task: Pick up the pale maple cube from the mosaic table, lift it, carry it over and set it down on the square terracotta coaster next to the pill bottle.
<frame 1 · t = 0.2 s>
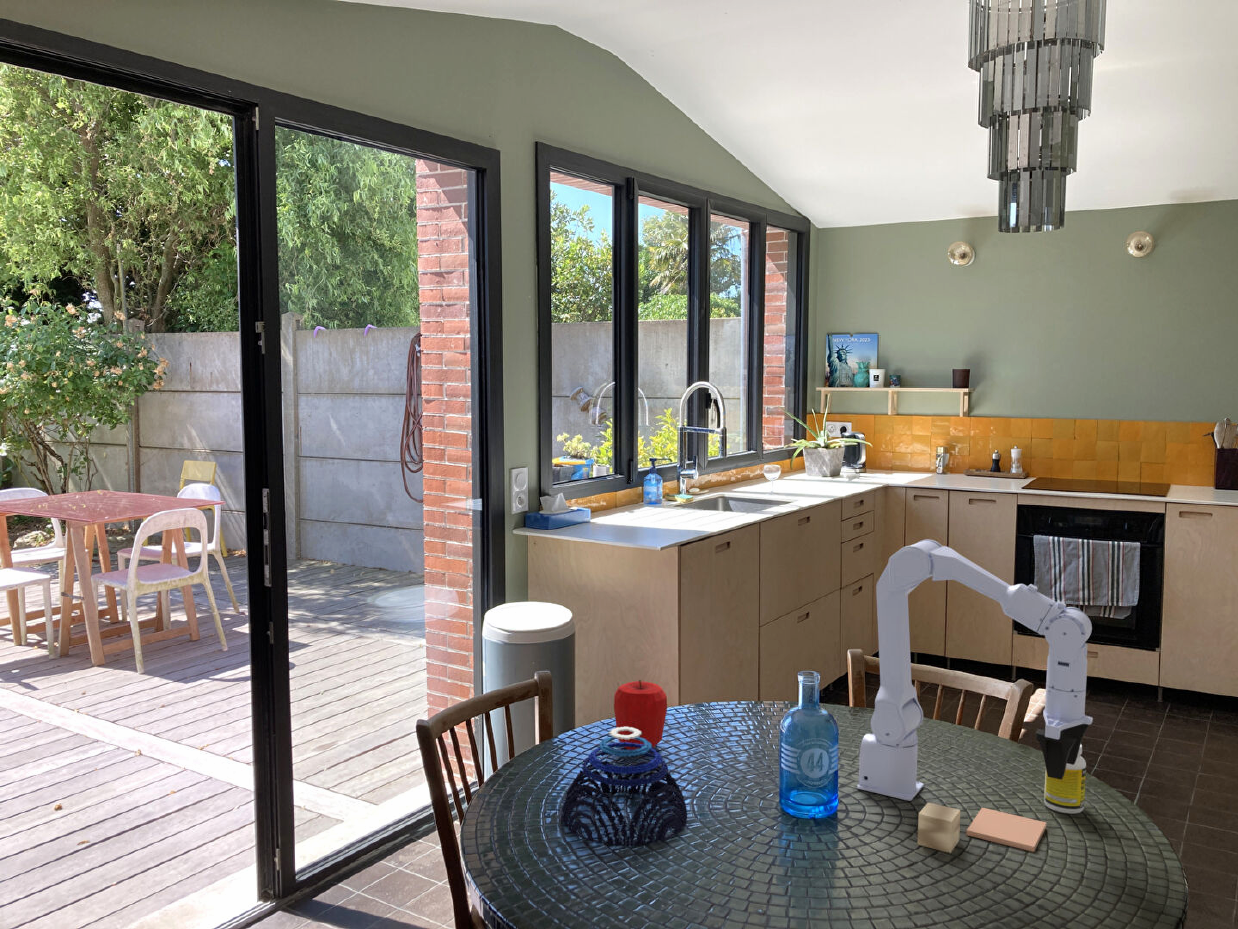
hand: (1061, 770, 157), 10 cm above the table, fingers open, 7 cm apart
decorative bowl: (625, 819, 162), on the table
coaster: (1006, 831, 158), on the table
maple cube: (938, 843, 154), on the table
apple: (640, 749, 192), on the table
pill bottle: (1063, 808, 167), on the table
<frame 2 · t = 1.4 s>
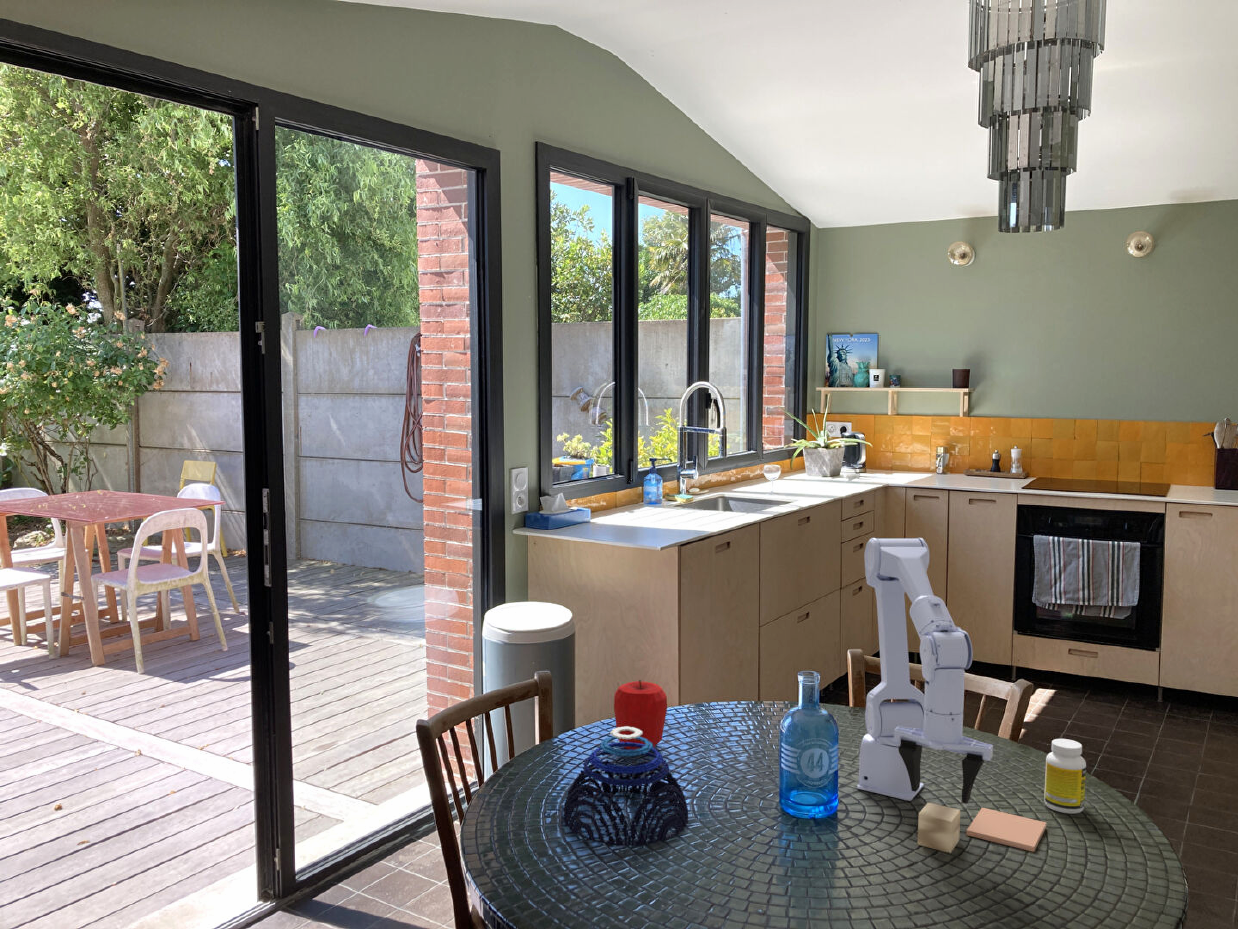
hand: (940, 795, 153), 8 cm above the table, fingers open, 7 cm apart
nothing on the table moved.
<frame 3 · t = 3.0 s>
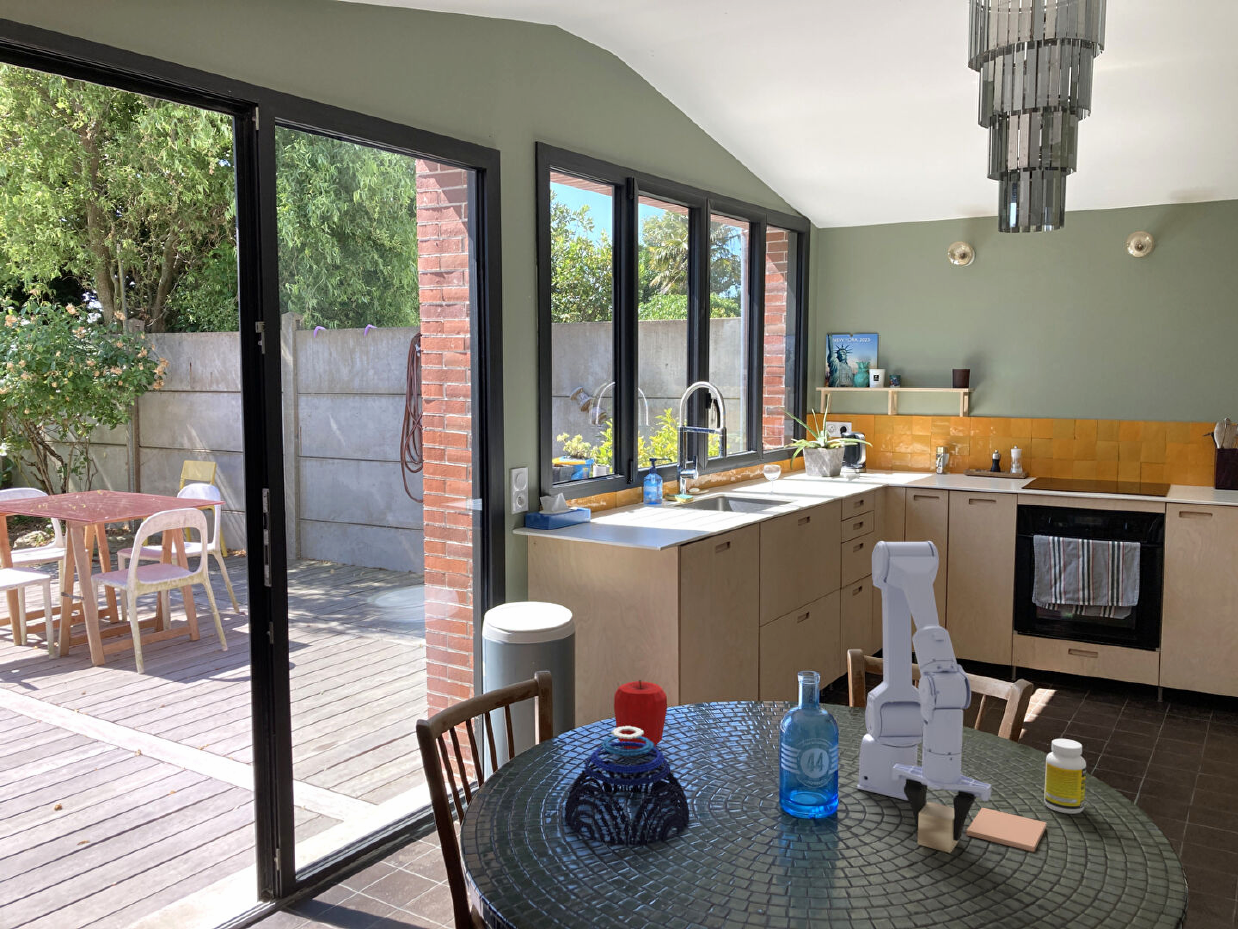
hand: (938, 833, 154), 1 cm above the table, fingers closed on maple cube, 5 cm apart
maple cube: (938, 842, 154), on the table, touching gripper
everything else where it was.
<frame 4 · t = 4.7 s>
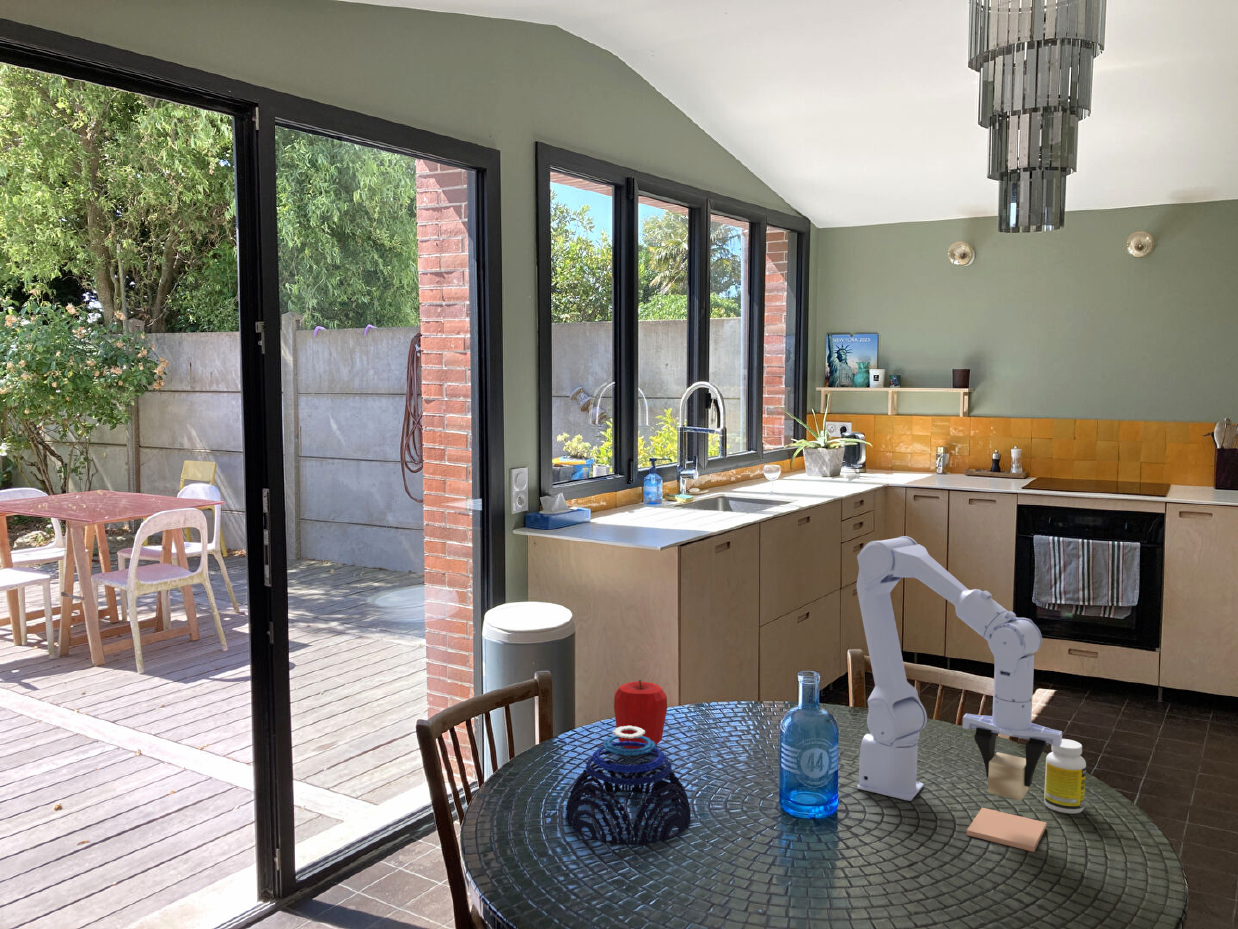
hand: (1009, 780, 157), 8 cm above the table, fingers closed on maple cube, 5 cm apart
maple cube: (1008, 791, 157), point 7 cm above the table, touching gripper
everything else where it was.
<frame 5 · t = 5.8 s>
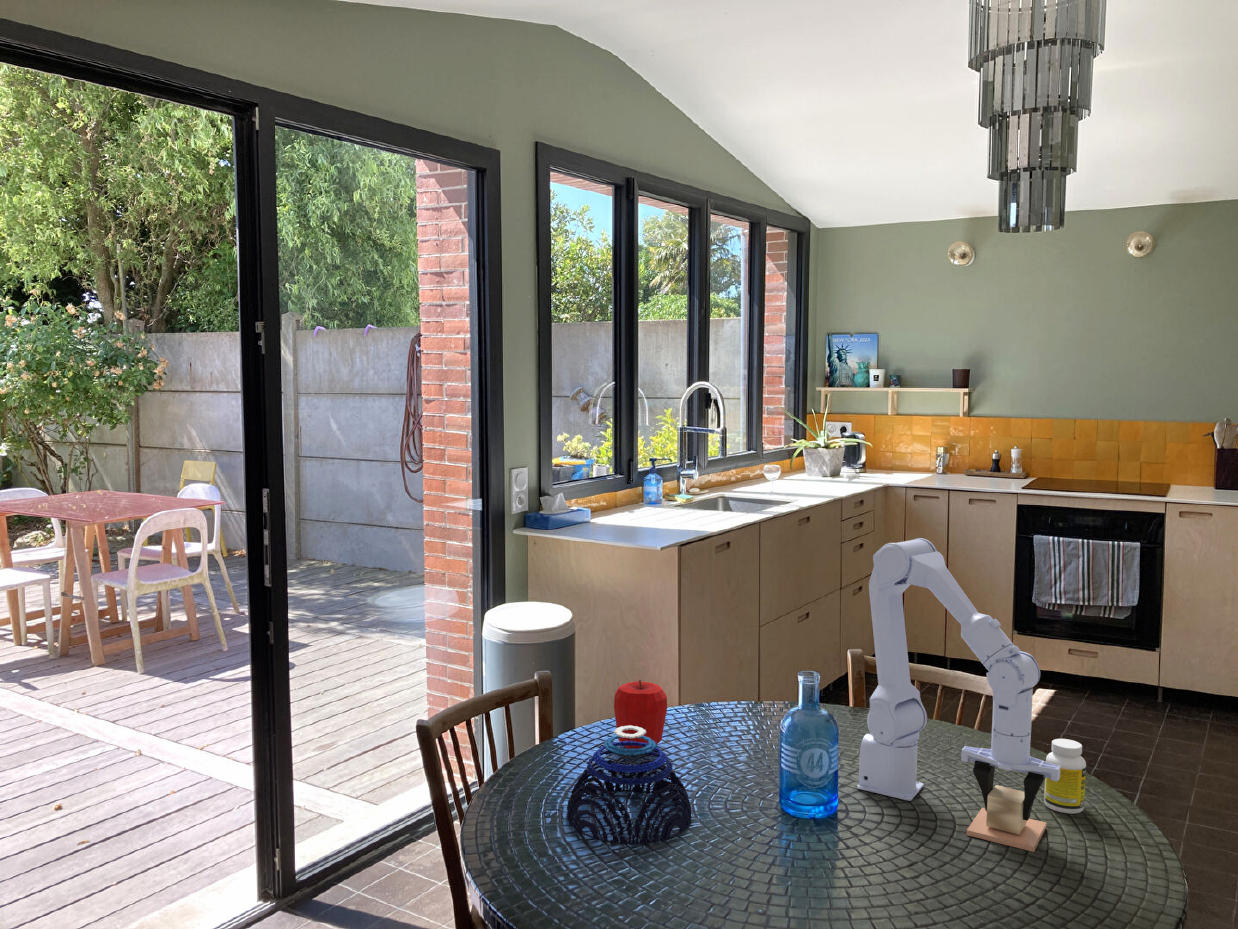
hand: (1007, 813, 158), 3 cm above the table, fingers closed on maple cube, 5 cm apart
maple cube: (1006, 824, 157), point 1 cm above the table, touching gripper
everything else where it was.
when the fingers open (3 cm above the table, at t = 6.6 s): maple cube stays where it is, resting on coaster.
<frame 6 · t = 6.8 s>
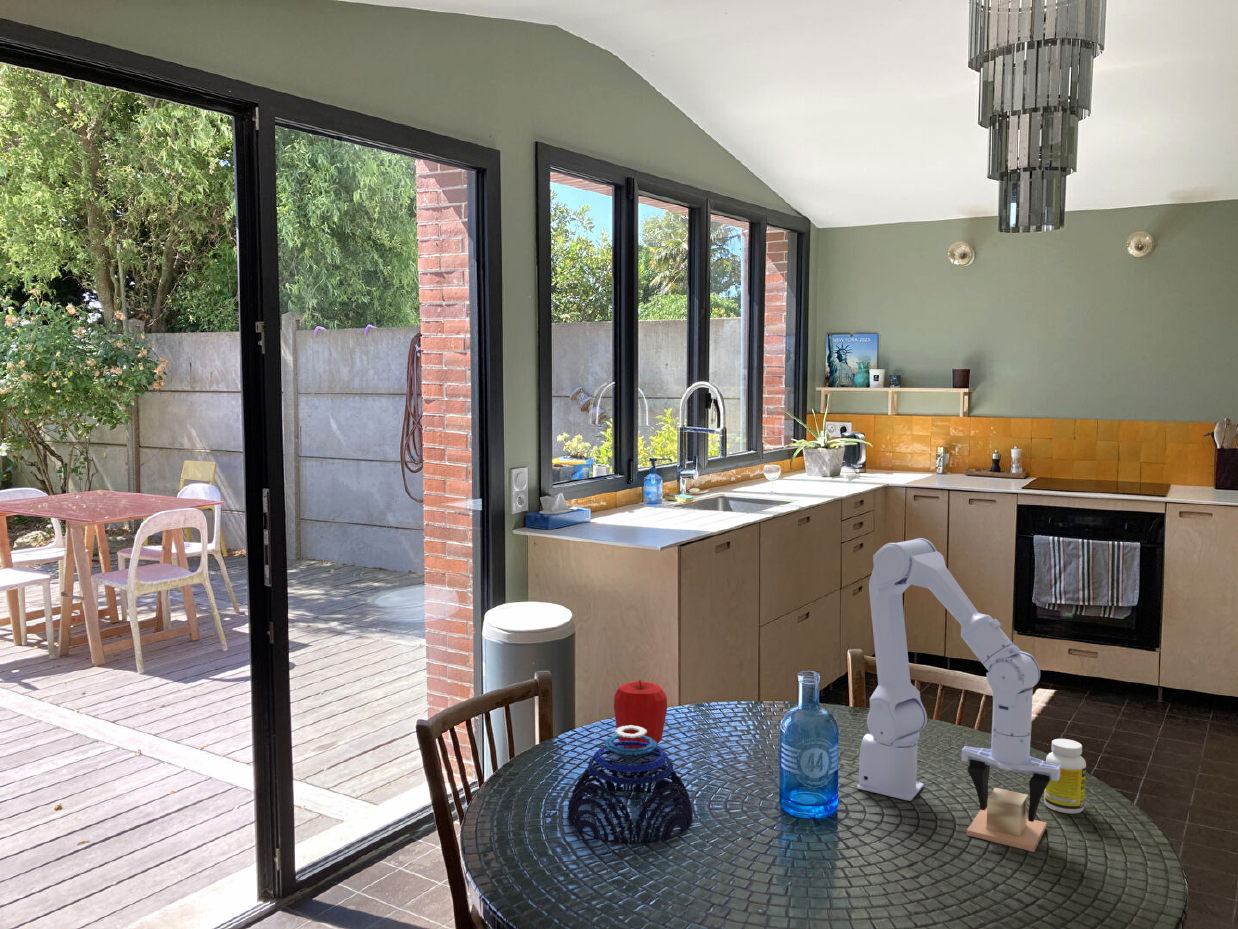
hand: (1007, 813, 158), 3 cm above the table, fingers open, 7 cm apart
maple cube: (1006, 827, 157), point 1 cm above the table, touching coaster
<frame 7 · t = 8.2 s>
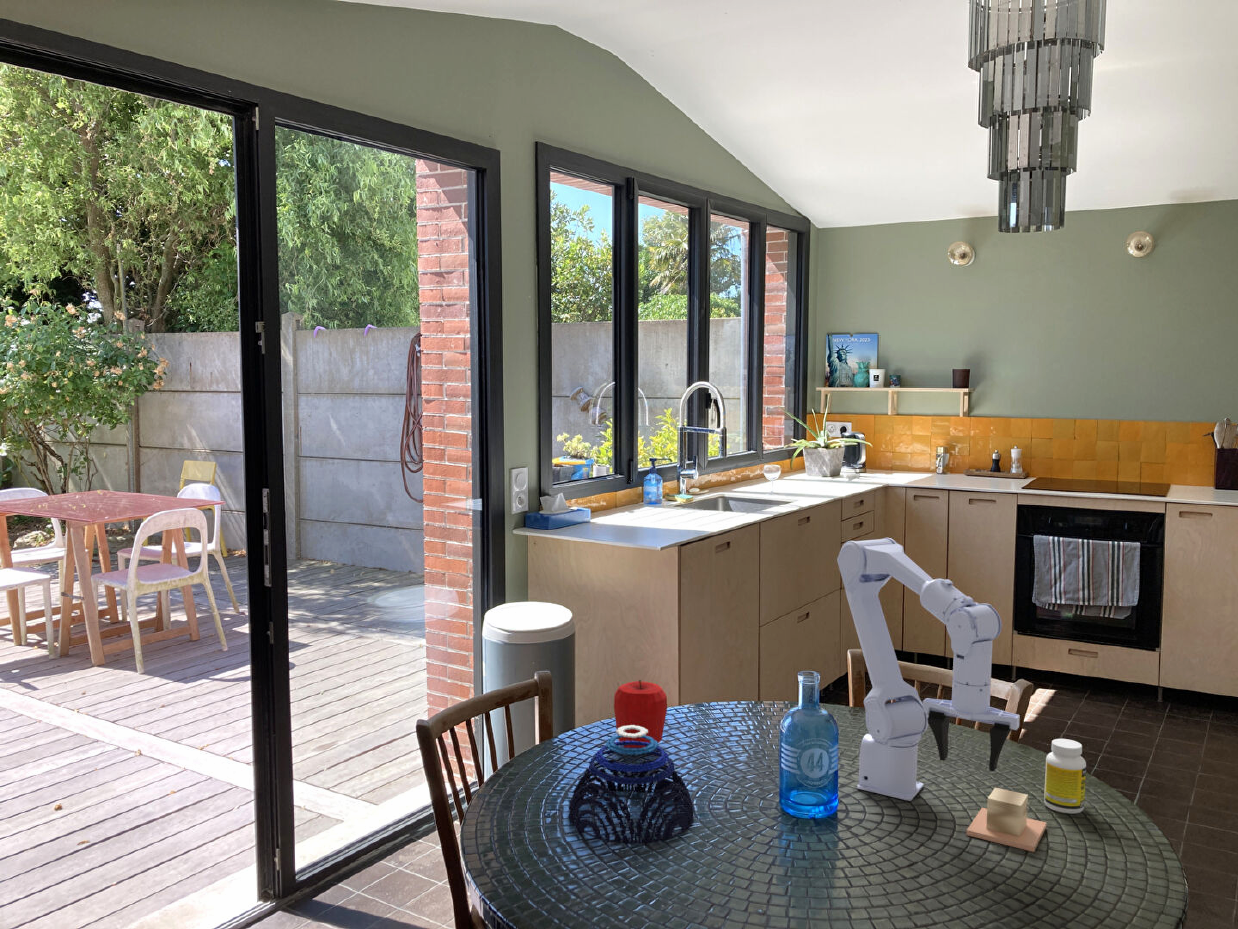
hand: (967, 763, 158), 10 cm above the table, fingers open, 7 cm apart
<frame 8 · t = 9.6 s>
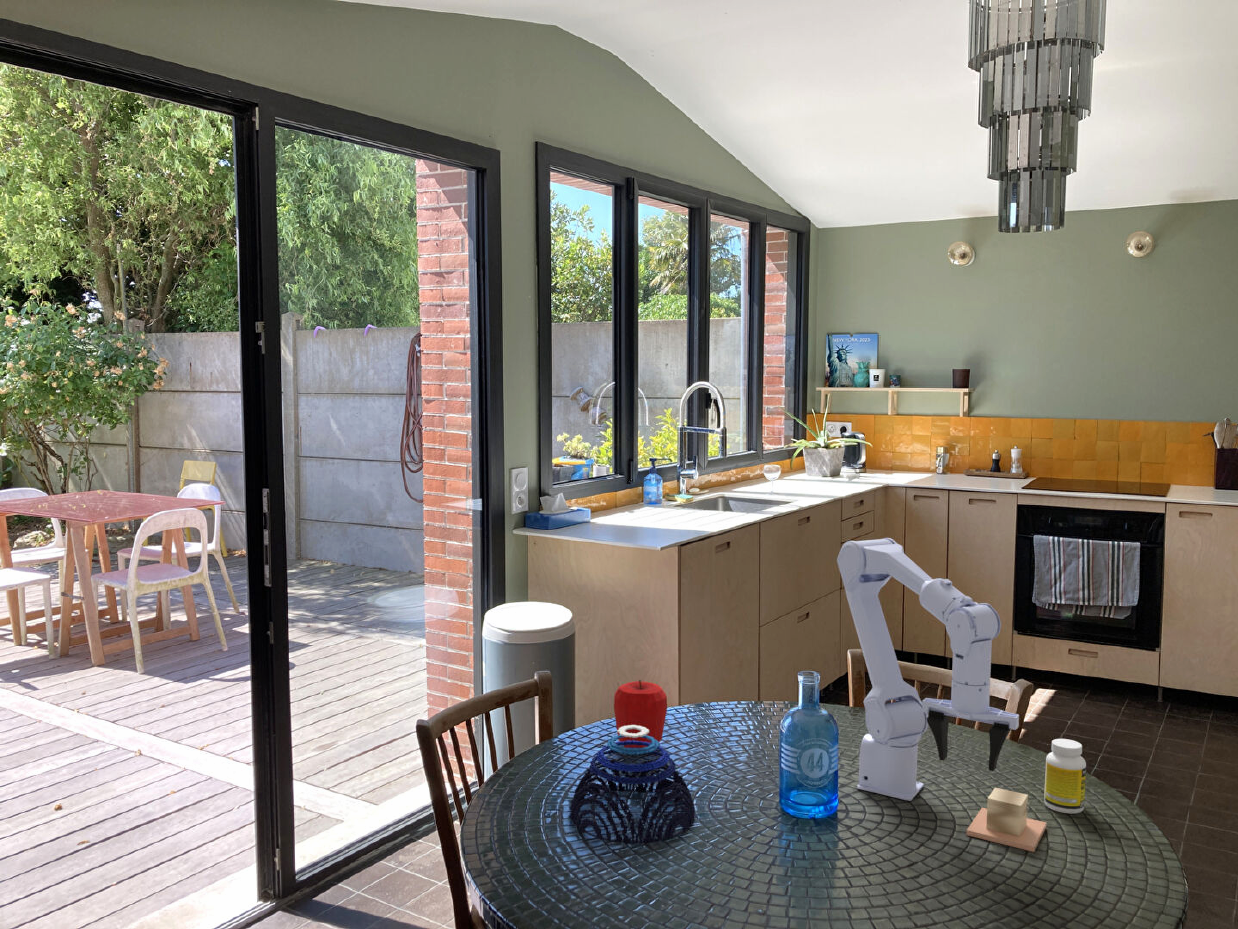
hand: (967, 763, 158), 10 cm above the table, fingers open, 7 cm apart
at the end: maple cube inside the target area on the coaster (0.3 cm from its centre), point 0.8 cm above the coaster's base; maple cube tilted 0°; the gripper is holding nothing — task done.
